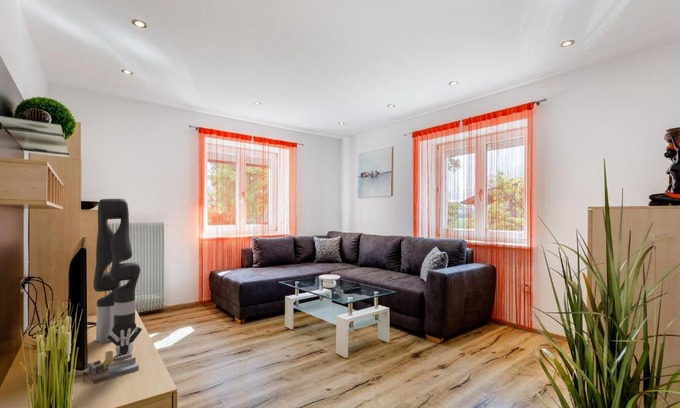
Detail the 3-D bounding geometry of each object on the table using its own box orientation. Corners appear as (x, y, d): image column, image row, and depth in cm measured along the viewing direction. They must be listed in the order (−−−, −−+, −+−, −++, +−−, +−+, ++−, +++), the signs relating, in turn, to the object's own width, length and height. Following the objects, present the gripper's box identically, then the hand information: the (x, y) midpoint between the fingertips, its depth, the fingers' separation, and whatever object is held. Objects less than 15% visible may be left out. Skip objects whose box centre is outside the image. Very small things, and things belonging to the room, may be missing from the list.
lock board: (84, 371, 134) (84, 360, 134) (127, 358, 145) (127, 348, 145) (93, 383, 125) (94, 371, 125) (138, 369, 136) (139, 358, 136)
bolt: (94, 369, 132) (94, 354, 132) (112, 364, 136) (112, 349, 136) (96, 372, 130) (96, 356, 130) (114, 367, 134) (114, 351, 134)
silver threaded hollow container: (124, 358, 146) (125, 311, 146) (111, 356, 147) (112, 310, 148) (136, 352, 152) (137, 307, 153) (124, 350, 154) (124, 306, 154)
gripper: (139, 306, 146) (138, 346, 145) (103, 313, 136) (102, 356, 136) (145, 310, 141) (144, 351, 140) (108, 317, 131) (107, 362, 131)
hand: (123, 354), depth 138 cm, fingers closed
